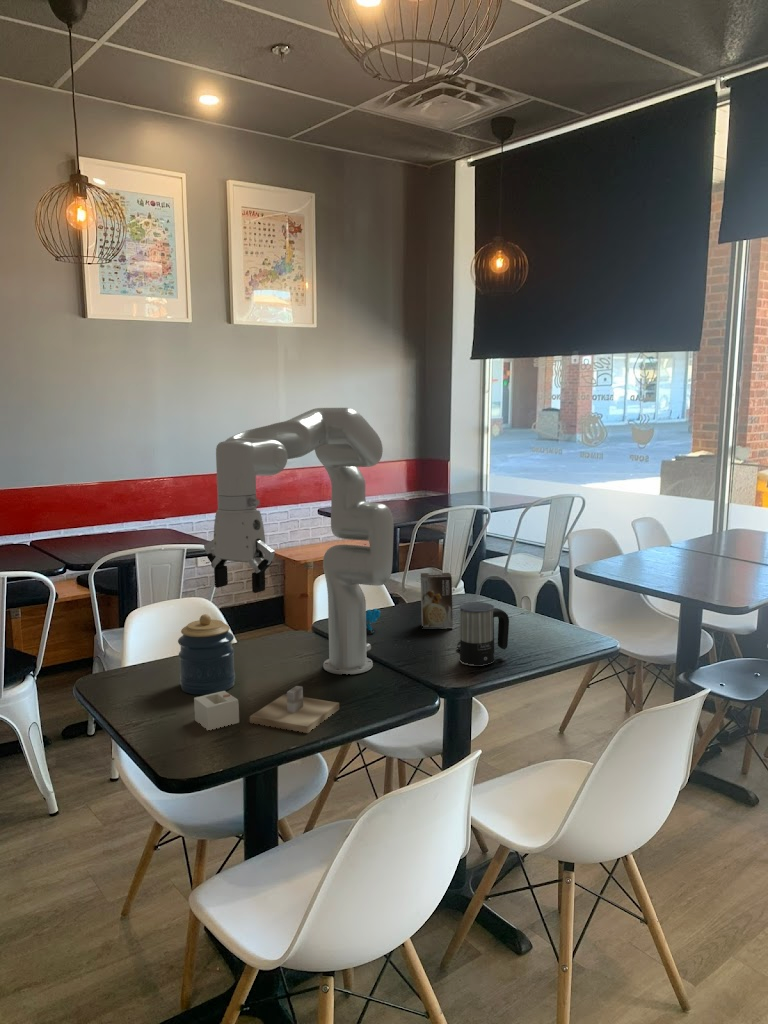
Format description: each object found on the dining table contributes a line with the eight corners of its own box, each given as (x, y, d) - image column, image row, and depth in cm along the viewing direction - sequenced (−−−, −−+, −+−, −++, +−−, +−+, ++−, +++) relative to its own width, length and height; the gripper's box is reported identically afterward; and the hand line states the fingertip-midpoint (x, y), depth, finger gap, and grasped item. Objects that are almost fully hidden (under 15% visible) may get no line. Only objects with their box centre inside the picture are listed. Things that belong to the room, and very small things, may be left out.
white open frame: (194, 720, 169) (193, 696, 169) (225, 712, 174) (224, 689, 173) (208, 730, 164) (207, 706, 163) (239, 722, 168) (238, 698, 167)
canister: (216, 698, 182) (213, 624, 180) (169, 692, 186) (165, 619, 184) (245, 680, 194) (242, 610, 192) (200, 674, 198) (196, 605, 196)
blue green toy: (374, 620, 240) (382, 603, 232) (382, 636, 237) (391, 620, 230) (341, 630, 235) (349, 613, 227) (350, 647, 232) (358, 630, 225)
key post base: (284, 700, 180) (283, 674, 179) (339, 709, 175) (338, 683, 174) (250, 723, 168) (248, 695, 167) (307, 733, 162) (306, 705, 161)
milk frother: (477, 670, 199) (477, 612, 197) (433, 656, 211) (433, 601, 209) (514, 658, 208) (514, 603, 206) (469, 645, 220) (469, 592, 218)
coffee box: (450, 623, 241) (450, 572, 239) (452, 629, 235) (452, 576, 233) (420, 624, 241) (420, 572, 239) (422, 630, 235) (421, 577, 233)
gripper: (283, 504, 155) (286, 589, 157) (217, 499, 163) (219, 581, 166) (259, 508, 148) (261, 597, 150) (191, 503, 157) (194, 588, 159)
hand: (239, 588), depth 158 cm, fingers open, 9 cm apart
